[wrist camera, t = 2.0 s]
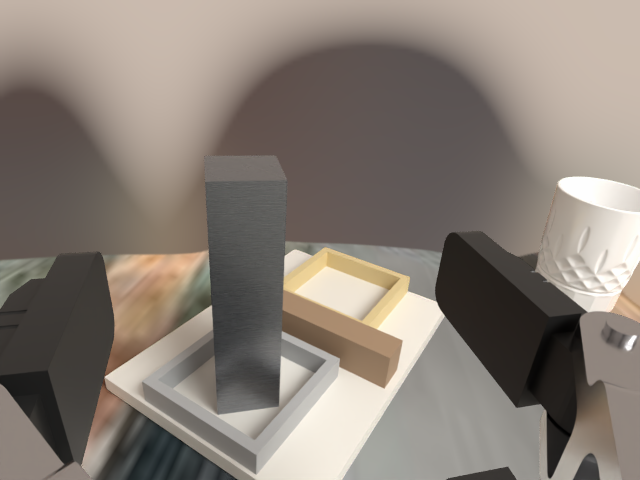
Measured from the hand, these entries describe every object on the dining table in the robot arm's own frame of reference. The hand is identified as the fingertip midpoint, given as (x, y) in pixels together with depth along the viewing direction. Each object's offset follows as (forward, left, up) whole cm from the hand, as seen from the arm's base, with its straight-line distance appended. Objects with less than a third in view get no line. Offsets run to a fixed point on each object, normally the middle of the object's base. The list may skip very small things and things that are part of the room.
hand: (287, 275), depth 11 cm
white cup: (+8, +34, -16) cm, 39 cm away
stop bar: (-8, +8, -15) cm, 19 cm away
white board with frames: (-8, +14, -16) cm, 23 cm away
